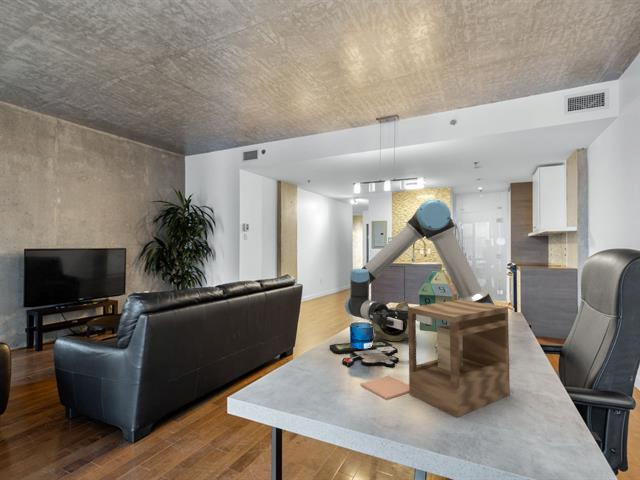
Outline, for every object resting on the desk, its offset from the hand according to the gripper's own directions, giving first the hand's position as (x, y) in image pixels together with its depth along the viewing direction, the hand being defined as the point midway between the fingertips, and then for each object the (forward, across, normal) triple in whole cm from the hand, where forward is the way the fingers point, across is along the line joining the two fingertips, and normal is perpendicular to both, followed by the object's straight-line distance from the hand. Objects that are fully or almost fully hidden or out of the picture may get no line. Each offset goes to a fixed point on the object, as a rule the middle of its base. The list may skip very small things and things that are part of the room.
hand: (417, 322), depth 114 cm
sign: (-26, -2, -19) cm, 33 cm away
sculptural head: (-41, -27, -18) cm, 52 cm away
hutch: (+16, -1, -18) cm, 24 cm away
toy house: (-40, -58, -18) cm, 73 cm away
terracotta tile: (+1, +13, -18) cm, 23 cm away
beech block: (+12, -1, -11) cm, 17 cm away
